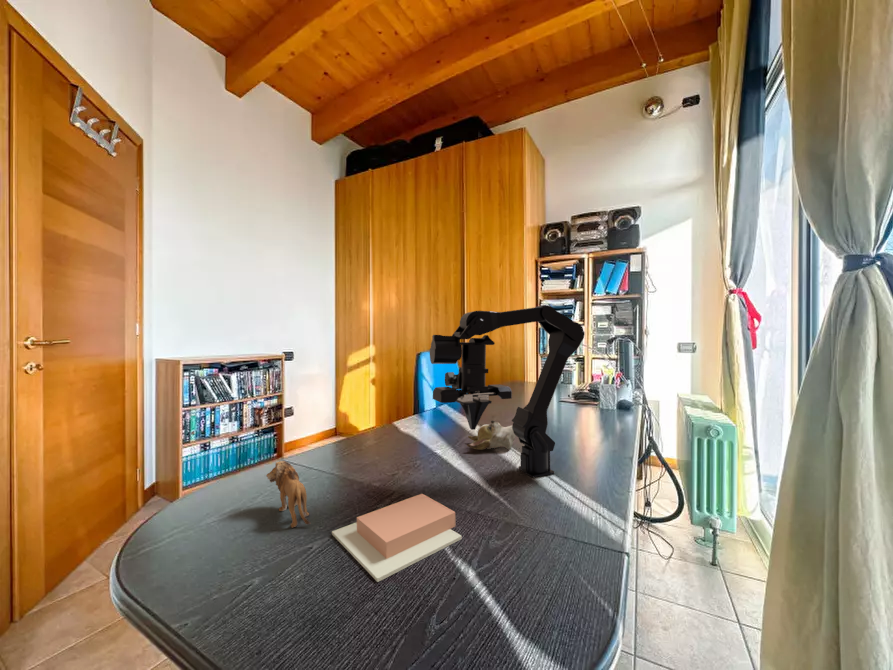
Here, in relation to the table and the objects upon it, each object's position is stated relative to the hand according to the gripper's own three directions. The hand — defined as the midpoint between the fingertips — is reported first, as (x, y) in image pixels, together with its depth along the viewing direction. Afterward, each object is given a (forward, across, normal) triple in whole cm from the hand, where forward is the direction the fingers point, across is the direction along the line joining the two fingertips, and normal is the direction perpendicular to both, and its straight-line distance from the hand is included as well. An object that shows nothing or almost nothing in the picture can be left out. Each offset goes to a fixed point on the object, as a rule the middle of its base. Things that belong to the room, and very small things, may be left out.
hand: (472, 429), depth 85 cm
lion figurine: (+13, +40, -1) cm, 42 cm away
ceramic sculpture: (+12, -16, -18) cm, 27 cm away
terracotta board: (+10, +14, +13) cm, 22 cm away
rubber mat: (+12, +23, +16) cm, 31 cm away
